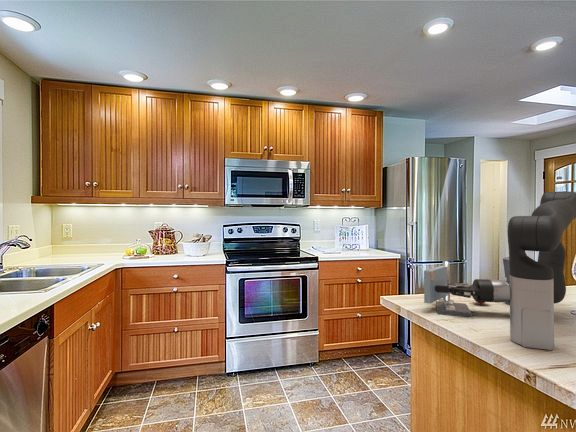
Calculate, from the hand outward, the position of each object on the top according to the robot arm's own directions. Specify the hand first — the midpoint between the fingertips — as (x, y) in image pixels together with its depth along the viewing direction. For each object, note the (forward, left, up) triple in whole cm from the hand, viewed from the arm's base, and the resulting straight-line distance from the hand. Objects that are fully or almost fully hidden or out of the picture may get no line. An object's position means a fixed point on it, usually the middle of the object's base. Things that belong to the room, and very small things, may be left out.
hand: (435, 288), depth 113 cm
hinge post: (+13, -4, -8) cm, 16 cm away
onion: (+16, -16, -8) cm, 25 cm away
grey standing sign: (+4, 0, -4) cm, 6 cm away
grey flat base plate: (+3, -5, -8) cm, 10 cm away
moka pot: (+22, -29, -8) cm, 38 cm away
